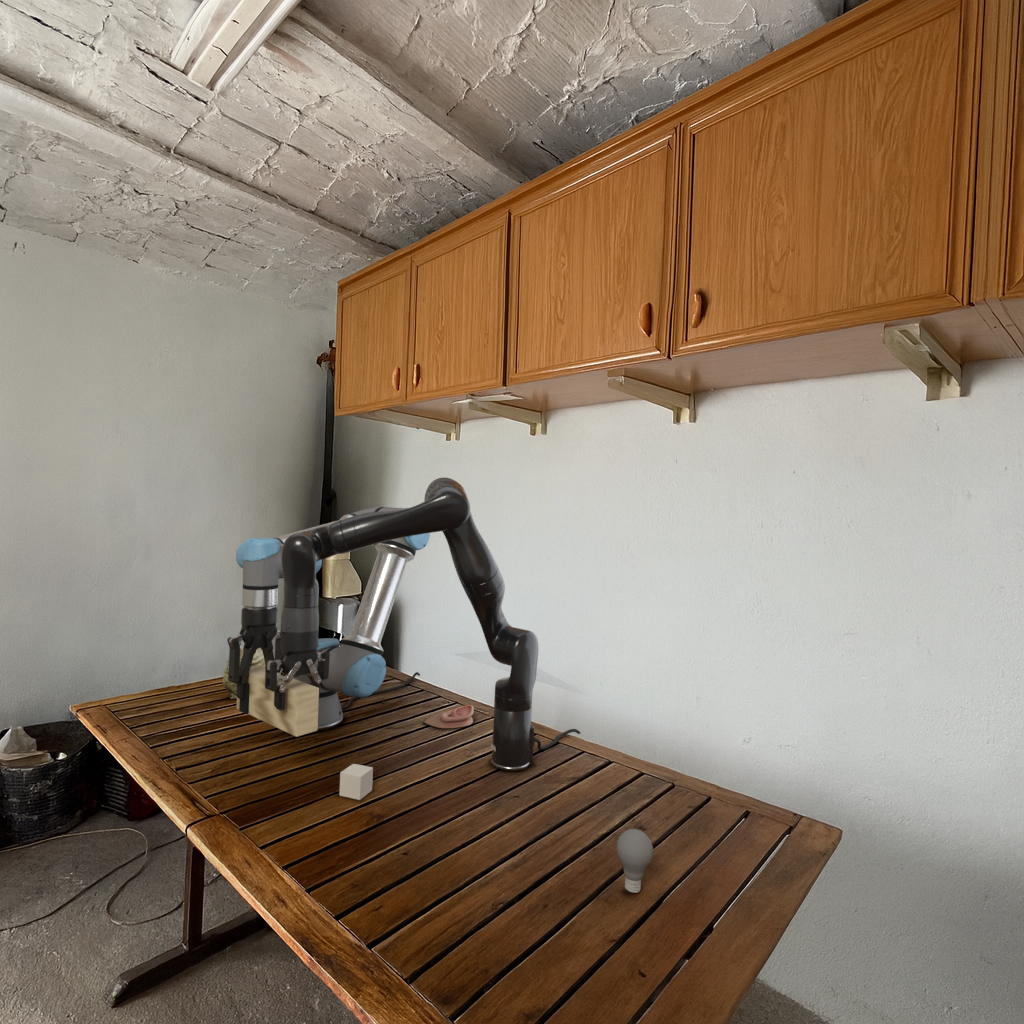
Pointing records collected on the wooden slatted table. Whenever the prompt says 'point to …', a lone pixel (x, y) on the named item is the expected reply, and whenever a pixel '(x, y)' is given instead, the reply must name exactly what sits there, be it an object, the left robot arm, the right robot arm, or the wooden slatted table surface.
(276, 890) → the wooden slatted table surface
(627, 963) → the wooden slatted table surface
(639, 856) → the light bulb
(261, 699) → the ash bar
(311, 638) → the right robot arm
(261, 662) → the fossil
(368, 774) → the white cube
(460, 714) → the anatomical model
